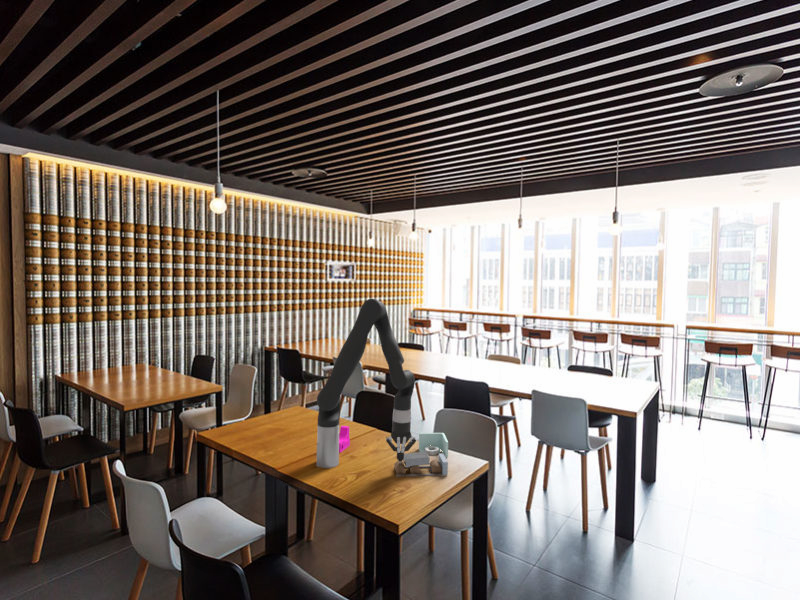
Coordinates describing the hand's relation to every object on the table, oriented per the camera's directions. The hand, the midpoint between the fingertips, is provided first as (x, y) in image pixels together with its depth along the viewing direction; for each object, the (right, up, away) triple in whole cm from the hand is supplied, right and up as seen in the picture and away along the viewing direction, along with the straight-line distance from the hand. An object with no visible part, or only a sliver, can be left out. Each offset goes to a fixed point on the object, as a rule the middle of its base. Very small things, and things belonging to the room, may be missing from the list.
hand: (400, 460), depth 179 cm
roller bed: (+7, -5, +1) cm, 9 cm away
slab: (+7, -1, +1) cm, 7 cm away
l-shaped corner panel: (+15, -5, +23) cm, 28 cm away
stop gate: (+18, -6, +2) cm, 19 cm away
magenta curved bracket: (-28, -4, +29) cm, 41 cm away
